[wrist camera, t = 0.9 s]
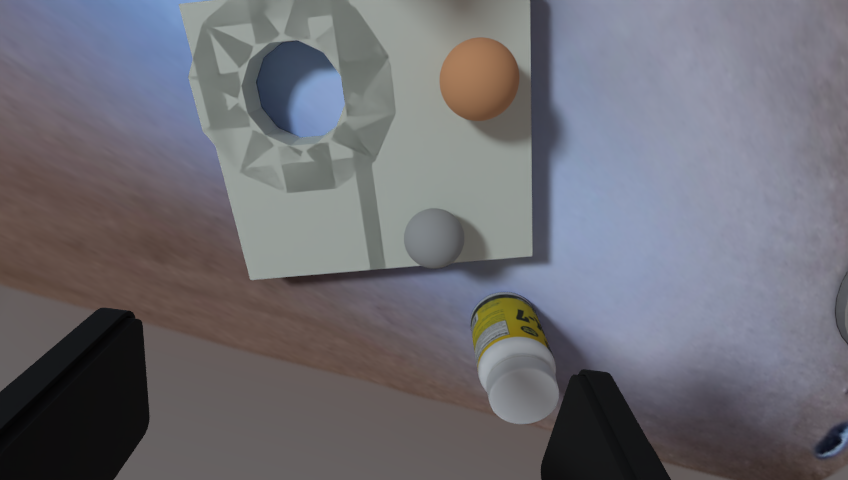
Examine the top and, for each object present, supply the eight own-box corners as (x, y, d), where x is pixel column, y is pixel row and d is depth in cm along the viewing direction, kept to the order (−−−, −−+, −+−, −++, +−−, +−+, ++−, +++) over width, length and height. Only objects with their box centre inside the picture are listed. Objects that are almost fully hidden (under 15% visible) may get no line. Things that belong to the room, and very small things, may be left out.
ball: (511, 33, 26) (525, 33, 22) (513, 111, 27) (526, 123, 23) (435, 41, 26) (437, 41, 22) (441, 118, 27) (444, 130, 24)
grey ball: (460, 197, 29) (464, 217, 26) (463, 251, 30) (468, 276, 27) (401, 202, 29) (399, 223, 26) (408, 255, 30) (406, 281, 27)
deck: (520, -38, 26) (529, -45, 24) (524, 240, 33) (532, 256, 30) (188, -3, 27) (166, -6, 25) (255, 263, 33) (242, 280, 31)
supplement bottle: (548, 322, 35) (583, 403, 28) (495, 357, 36) (515, 443, 29) (509, 277, 34) (535, 348, 26) (456, 314, 35) (465, 393, 27)
